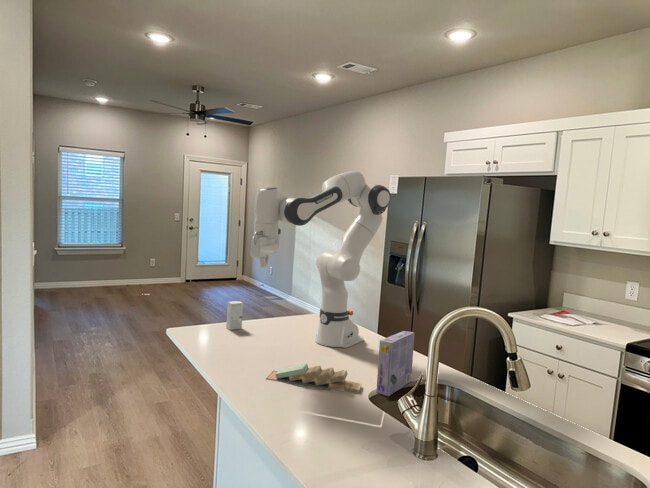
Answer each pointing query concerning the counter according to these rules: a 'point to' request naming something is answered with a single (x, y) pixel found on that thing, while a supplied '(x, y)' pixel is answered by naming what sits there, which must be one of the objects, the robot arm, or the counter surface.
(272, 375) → the charcoal mat
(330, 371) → the maple domino
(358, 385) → the maple domino
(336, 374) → the maple domino
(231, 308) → the skincare box
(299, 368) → the sage domino
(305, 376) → the maple domino
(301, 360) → the counter surface
